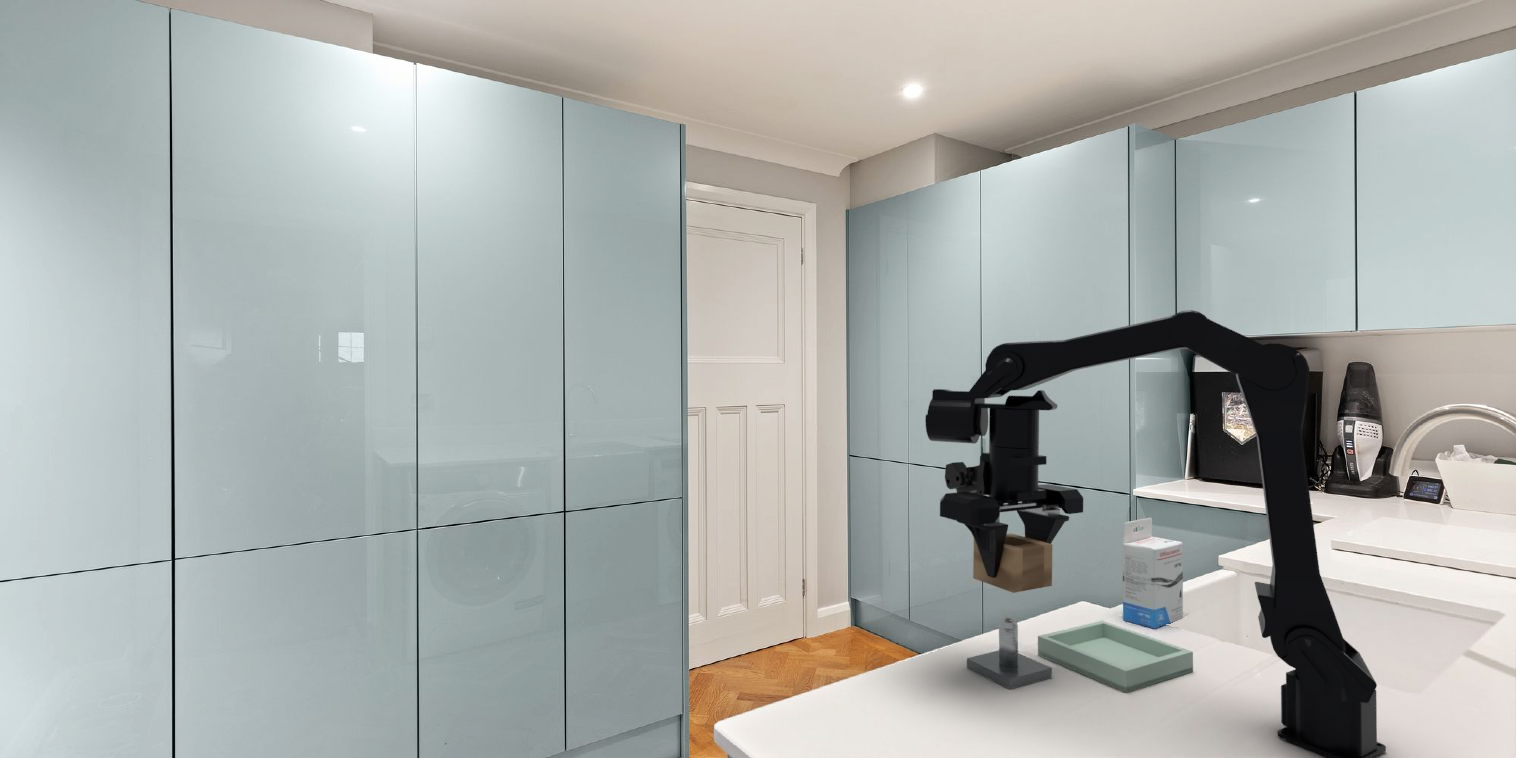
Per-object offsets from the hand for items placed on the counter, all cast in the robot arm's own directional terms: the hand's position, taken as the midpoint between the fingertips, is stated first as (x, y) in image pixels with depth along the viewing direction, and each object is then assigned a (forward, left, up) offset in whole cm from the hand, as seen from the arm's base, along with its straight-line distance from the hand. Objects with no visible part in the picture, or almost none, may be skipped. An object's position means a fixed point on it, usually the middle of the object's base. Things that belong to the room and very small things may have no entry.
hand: (1012, 573), depth 85 cm
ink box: (+5, -34, -13) cm, 37 cm away
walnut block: (0, 0, -1) cm, 1 cm away
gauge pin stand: (+1, 0, -13) cm, 13 cm away
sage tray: (-3, -14, -13) cm, 19 cm away
